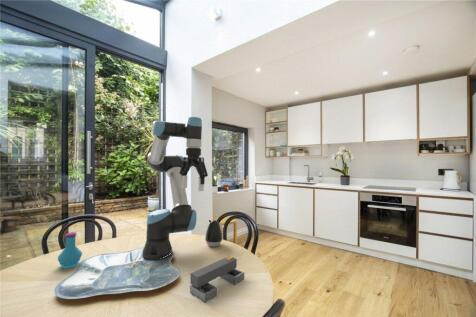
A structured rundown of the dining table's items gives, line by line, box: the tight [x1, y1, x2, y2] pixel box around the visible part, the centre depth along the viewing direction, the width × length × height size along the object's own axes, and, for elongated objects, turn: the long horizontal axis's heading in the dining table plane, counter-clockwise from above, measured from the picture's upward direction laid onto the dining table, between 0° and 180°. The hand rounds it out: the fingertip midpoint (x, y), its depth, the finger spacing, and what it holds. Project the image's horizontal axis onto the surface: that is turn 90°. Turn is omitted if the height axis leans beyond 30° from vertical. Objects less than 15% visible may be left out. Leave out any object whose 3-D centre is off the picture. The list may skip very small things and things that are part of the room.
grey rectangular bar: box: [189, 255, 238, 292], centre depth 91 cm, size 4×22×8 cm, turn 138°
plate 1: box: [189, 282, 218, 304], centre depth 84 cm, size 9×6×3 cm, turn 48°
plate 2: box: [219, 268, 245, 286], centre depth 96 cm, size 9×6×3 cm, turn 48°
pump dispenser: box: [205, 219, 223, 248], centre depth 134 cm, size 10×10×15 cm
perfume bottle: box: [57, 231, 83, 269], centre depth 105 cm, size 9×9×15 cm
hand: (192, 189), depth 111 cm, fingers open, 13 cm apart
